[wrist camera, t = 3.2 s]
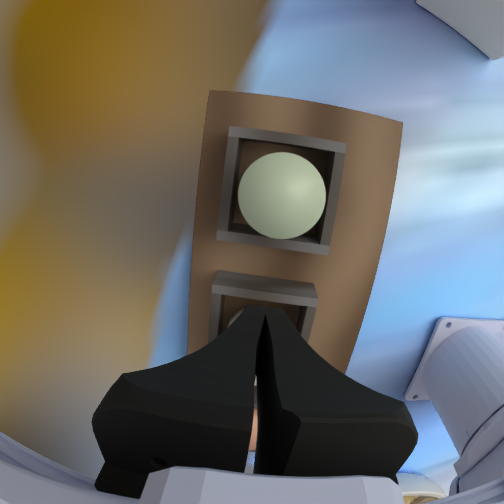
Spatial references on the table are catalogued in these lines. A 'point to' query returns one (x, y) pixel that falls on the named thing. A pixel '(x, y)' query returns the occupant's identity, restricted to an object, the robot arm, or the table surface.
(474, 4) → the milk carton
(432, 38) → the table surface
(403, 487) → the bowl
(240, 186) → the sage button
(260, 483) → the robot arm
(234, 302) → the panel
